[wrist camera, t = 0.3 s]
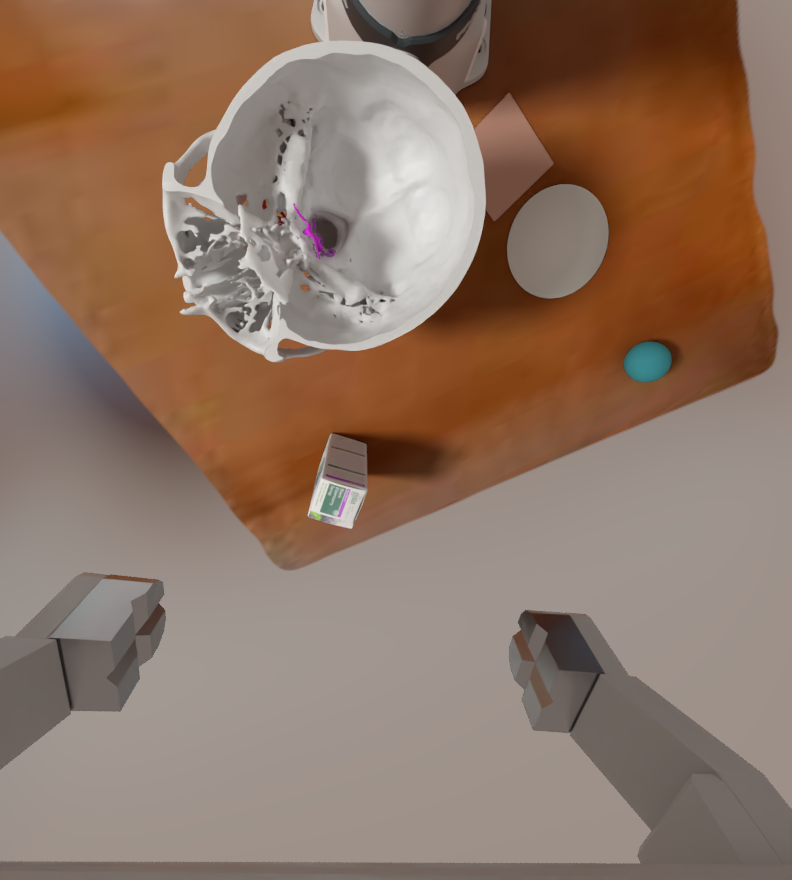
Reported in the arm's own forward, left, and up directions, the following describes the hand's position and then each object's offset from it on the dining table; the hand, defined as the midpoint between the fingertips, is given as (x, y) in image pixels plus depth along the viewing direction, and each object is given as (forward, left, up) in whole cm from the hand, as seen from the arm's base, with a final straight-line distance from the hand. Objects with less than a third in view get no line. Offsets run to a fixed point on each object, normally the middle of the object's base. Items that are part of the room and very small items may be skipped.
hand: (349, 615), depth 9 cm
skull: (-10, -5, -48) cm, 49 cm away
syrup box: (+17, -1, -48) cm, 51 cm away
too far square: (-23, +13, -47) cm, 54 cm away
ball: (-4, +38, -44) cm, 59 cm away
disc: (-16, +22, -47) cm, 55 cm away
